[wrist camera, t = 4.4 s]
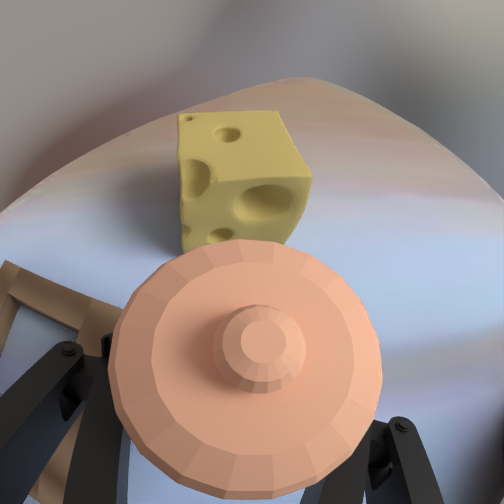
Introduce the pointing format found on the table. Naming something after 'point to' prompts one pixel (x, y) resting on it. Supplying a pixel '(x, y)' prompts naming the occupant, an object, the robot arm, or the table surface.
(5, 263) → the rail frame
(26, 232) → the table surface
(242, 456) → the salt shaker
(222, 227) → the cheese
